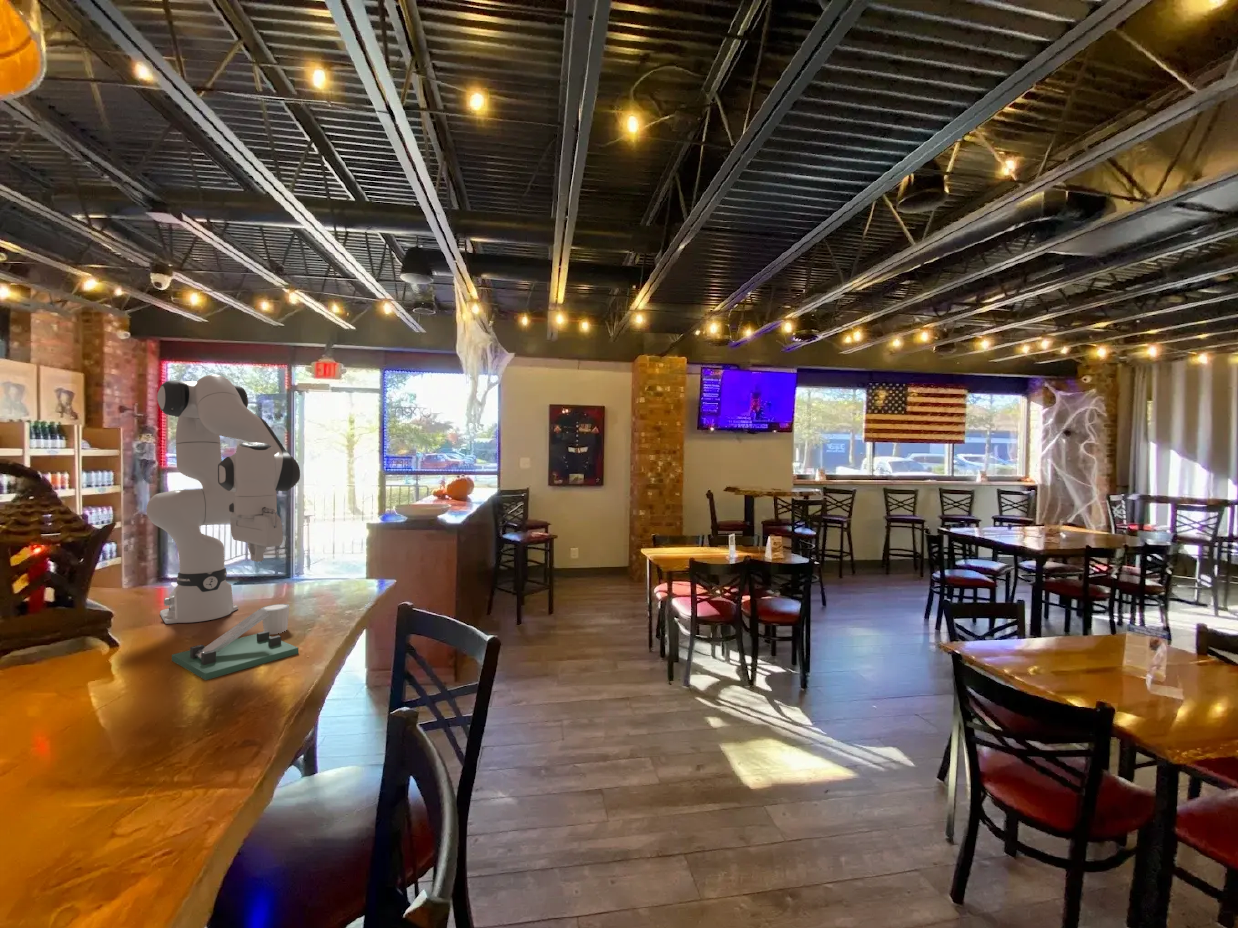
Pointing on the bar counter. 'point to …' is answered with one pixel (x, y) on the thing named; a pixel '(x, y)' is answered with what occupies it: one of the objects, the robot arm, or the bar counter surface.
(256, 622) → the steel strap
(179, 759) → the bar counter surface
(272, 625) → the white cylinder
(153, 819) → the bar counter surface
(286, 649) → the board
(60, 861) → the bar counter surface
